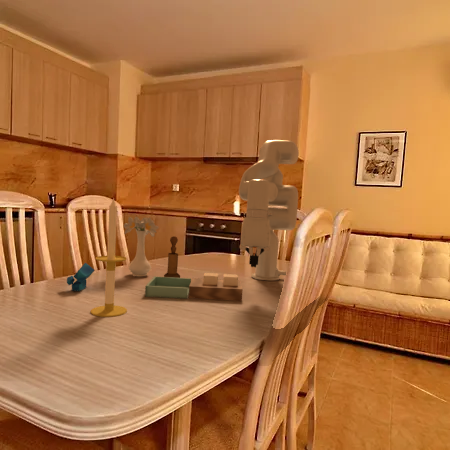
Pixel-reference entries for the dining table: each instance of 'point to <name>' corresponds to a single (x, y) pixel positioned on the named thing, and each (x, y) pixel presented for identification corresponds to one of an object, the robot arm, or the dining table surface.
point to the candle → (110, 270)
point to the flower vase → (140, 244)
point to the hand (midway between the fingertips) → (253, 266)
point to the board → (214, 290)
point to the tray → (168, 287)
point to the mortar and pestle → (172, 260)
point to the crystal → (80, 277)
